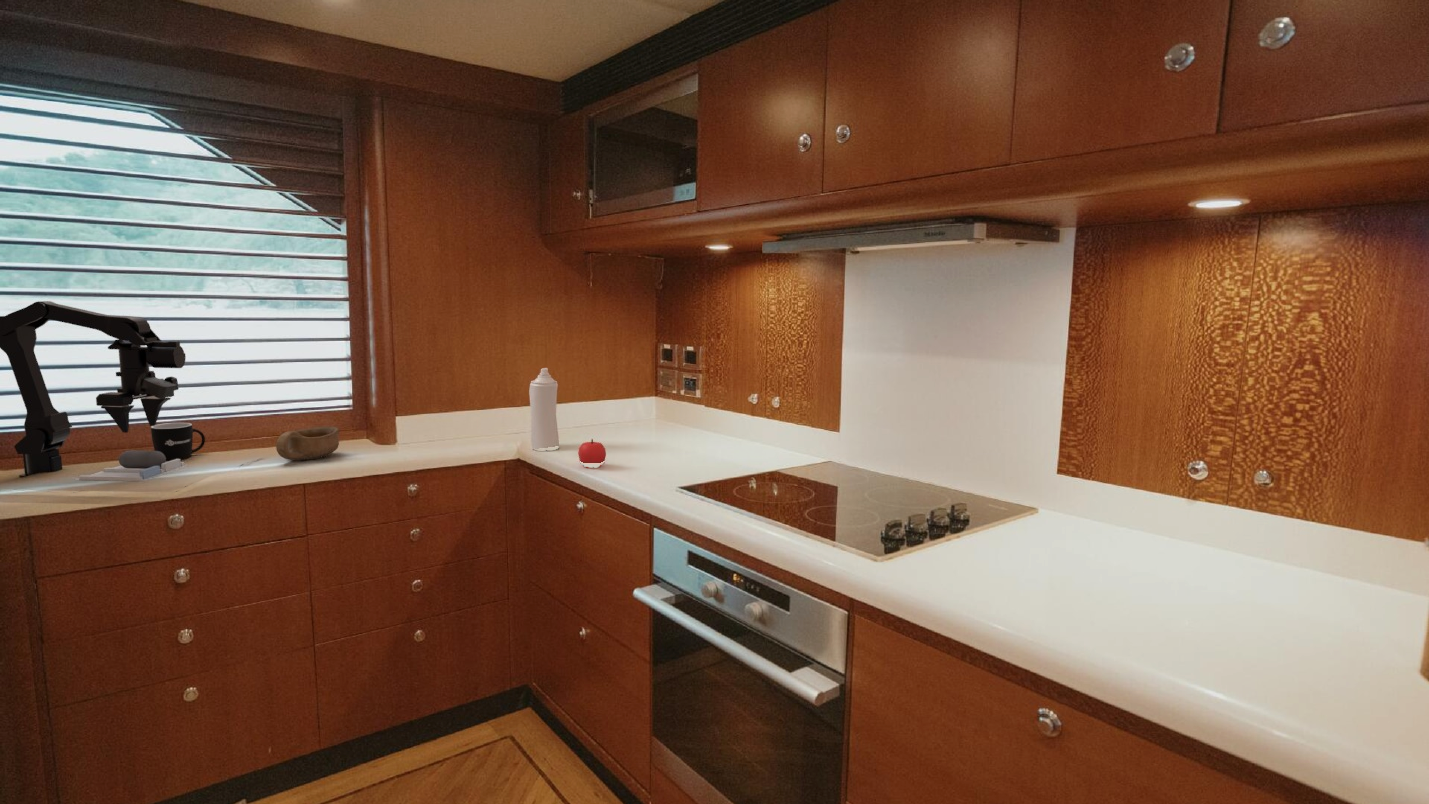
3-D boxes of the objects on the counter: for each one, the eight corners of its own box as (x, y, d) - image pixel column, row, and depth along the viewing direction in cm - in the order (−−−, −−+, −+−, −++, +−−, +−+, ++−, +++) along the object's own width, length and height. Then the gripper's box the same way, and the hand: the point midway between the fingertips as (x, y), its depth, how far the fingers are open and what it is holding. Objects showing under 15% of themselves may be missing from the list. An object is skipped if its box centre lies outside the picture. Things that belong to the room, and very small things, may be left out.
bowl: (319, 462, 198) (307, 426, 196) (271, 474, 199) (258, 439, 197) (354, 447, 215) (343, 415, 214) (310, 459, 216) (298, 426, 215)
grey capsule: (114, 470, 184) (113, 452, 183) (128, 465, 188) (127, 448, 188) (158, 471, 184) (156, 453, 184) (171, 466, 189) (169, 449, 188)
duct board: (75, 484, 175) (73, 471, 174) (125, 468, 190) (124, 456, 190) (144, 485, 175) (143, 472, 175) (189, 469, 191) (188, 457, 191)
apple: (608, 464, 212) (608, 436, 211) (603, 470, 204) (603, 442, 203) (580, 463, 212) (581, 435, 211) (575, 469, 204) (575, 441, 203)
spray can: (518, 447, 229) (518, 368, 226) (542, 442, 239) (542, 366, 235) (546, 452, 224) (546, 371, 220) (569, 446, 233) (569, 368, 229)
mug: (161, 467, 192) (158, 429, 191) (148, 462, 197) (145, 425, 196) (213, 460, 202) (210, 424, 200) (199, 455, 207) (196, 419, 206)
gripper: (140, 372, 174) (145, 437, 176) (192, 365, 192) (196, 423, 194) (91, 371, 173) (97, 435, 175) (149, 363, 192) (153, 422, 194)
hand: (139, 429), depth 185 cm, fingers open, 9 cm apart
